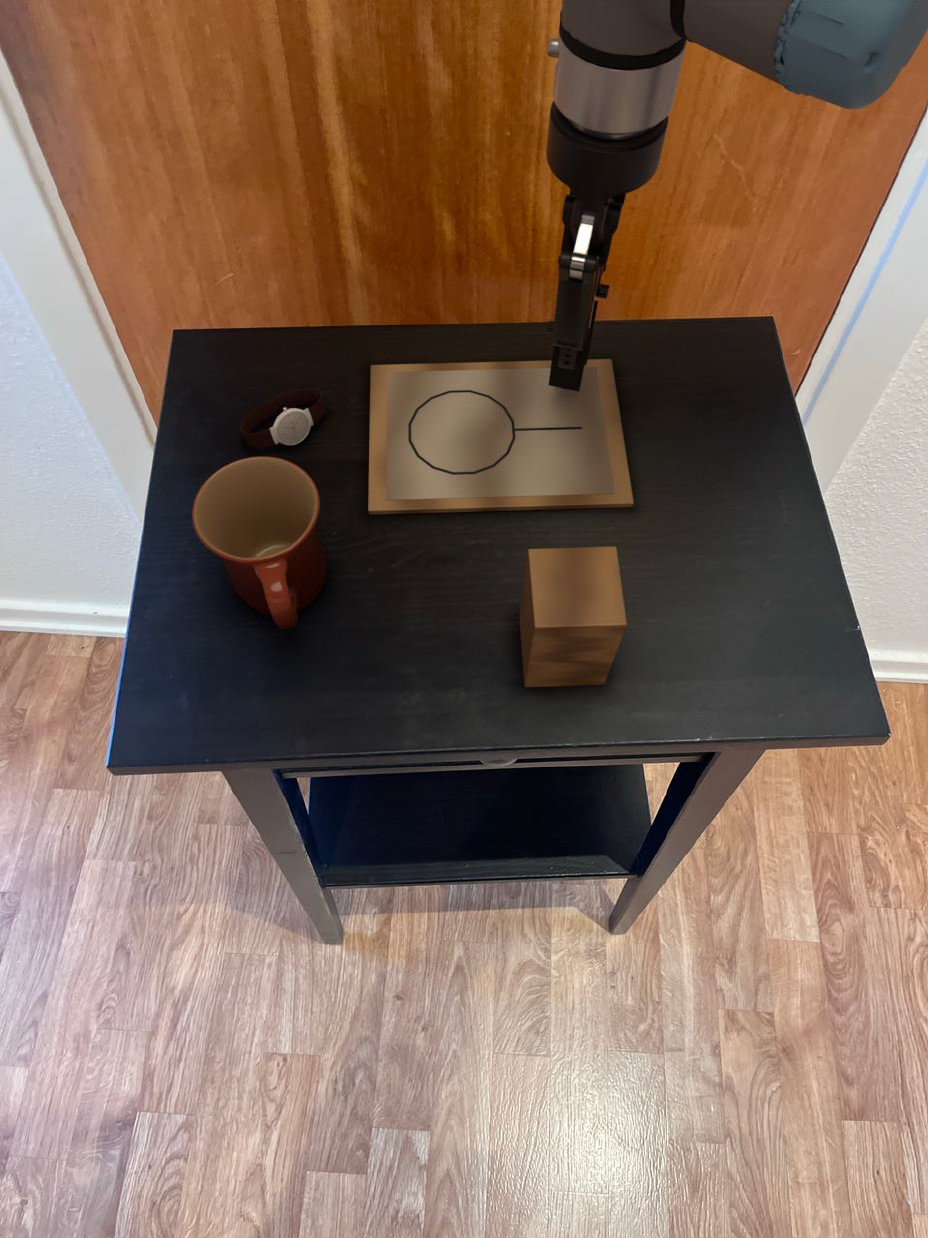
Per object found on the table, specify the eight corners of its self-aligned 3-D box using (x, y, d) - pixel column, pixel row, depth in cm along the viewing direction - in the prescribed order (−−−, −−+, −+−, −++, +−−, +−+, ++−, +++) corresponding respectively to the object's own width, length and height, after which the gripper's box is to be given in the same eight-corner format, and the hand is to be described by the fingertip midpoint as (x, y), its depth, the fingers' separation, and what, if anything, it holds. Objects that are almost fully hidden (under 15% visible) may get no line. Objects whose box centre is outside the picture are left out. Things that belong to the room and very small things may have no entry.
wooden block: (595, 614, 67) (616, 545, 58) (604, 685, 64) (627, 624, 55) (519, 616, 67) (528, 548, 58) (524, 687, 64) (534, 627, 55)
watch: (260, 465, 74) (251, 438, 70) (234, 430, 75) (224, 402, 72) (337, 425, 76) (332, 396, 72) (310, 391, 77) (303, 362, 74)
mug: (219, 548, 70) (183, 471, 61) (325, 523, 71) (305, 443, 62) (244, 679, 64) (209, 616, 55) (358, 649, 66) (342, 583, 56)
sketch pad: (610, 363, 79) (611, 357, 78) (632, 507, 72) (634, 502, 71) (371, 369, 79) (370, 363, 78) (368, 514, 71) (367, 510, 71)
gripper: (576, 27, 58) (545, 302, 79) (524, 172, 51) (505, 430, 72) (687, 45, 57) (626, 317, 78) (649, 194, 50) (593, 449, 71)
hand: (568, 371), depth 75 cm, fingers closed on marker, 2 cm apart
